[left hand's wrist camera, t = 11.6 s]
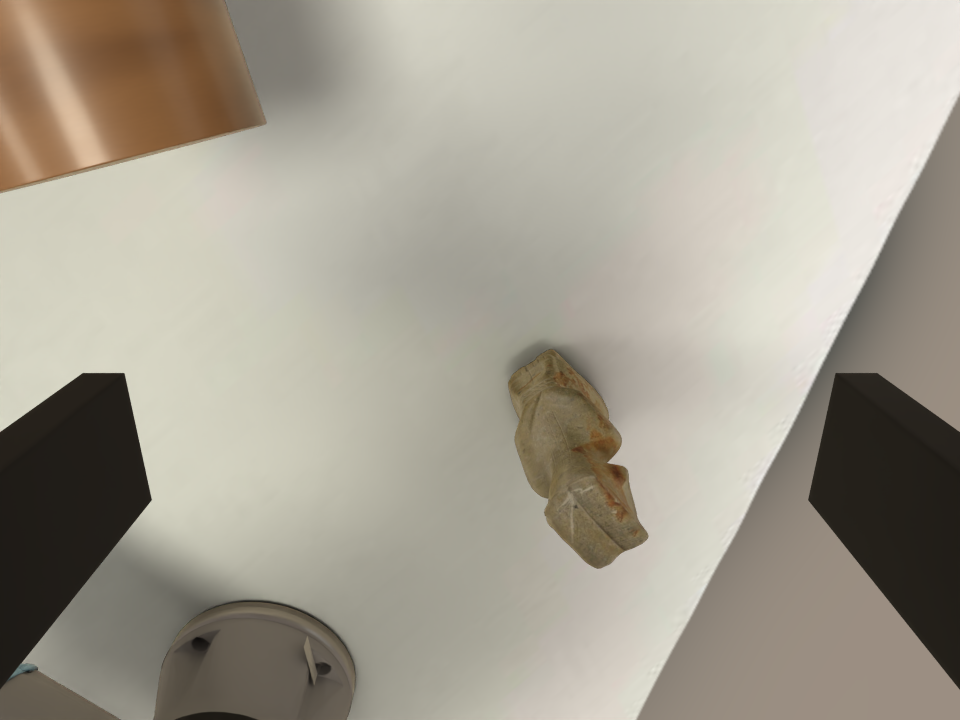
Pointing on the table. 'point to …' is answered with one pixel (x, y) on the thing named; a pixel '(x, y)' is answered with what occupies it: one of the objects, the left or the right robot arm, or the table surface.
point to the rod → (115, 83)
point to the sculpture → (574, 460)
